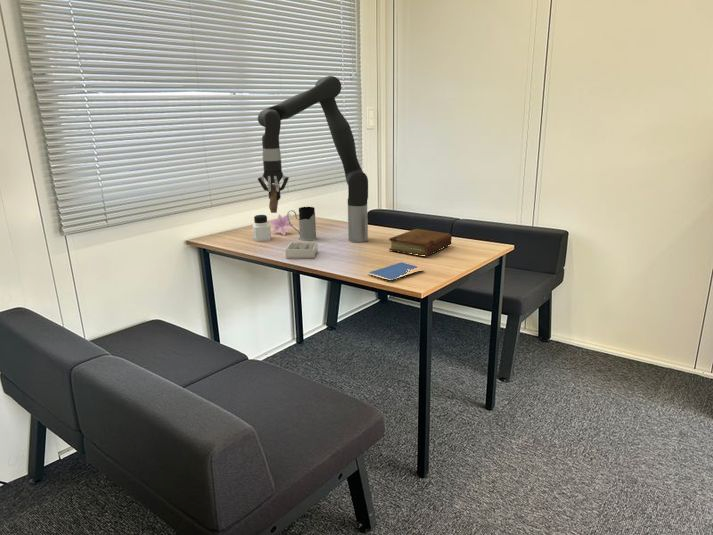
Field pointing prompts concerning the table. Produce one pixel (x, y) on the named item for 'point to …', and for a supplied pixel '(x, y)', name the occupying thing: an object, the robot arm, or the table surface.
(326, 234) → the table surface
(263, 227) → the medicine bottle
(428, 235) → the diary
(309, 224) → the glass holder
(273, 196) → the wooden plank piece
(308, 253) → the plank slot holder tray
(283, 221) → the lily
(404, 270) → the blue notebook
